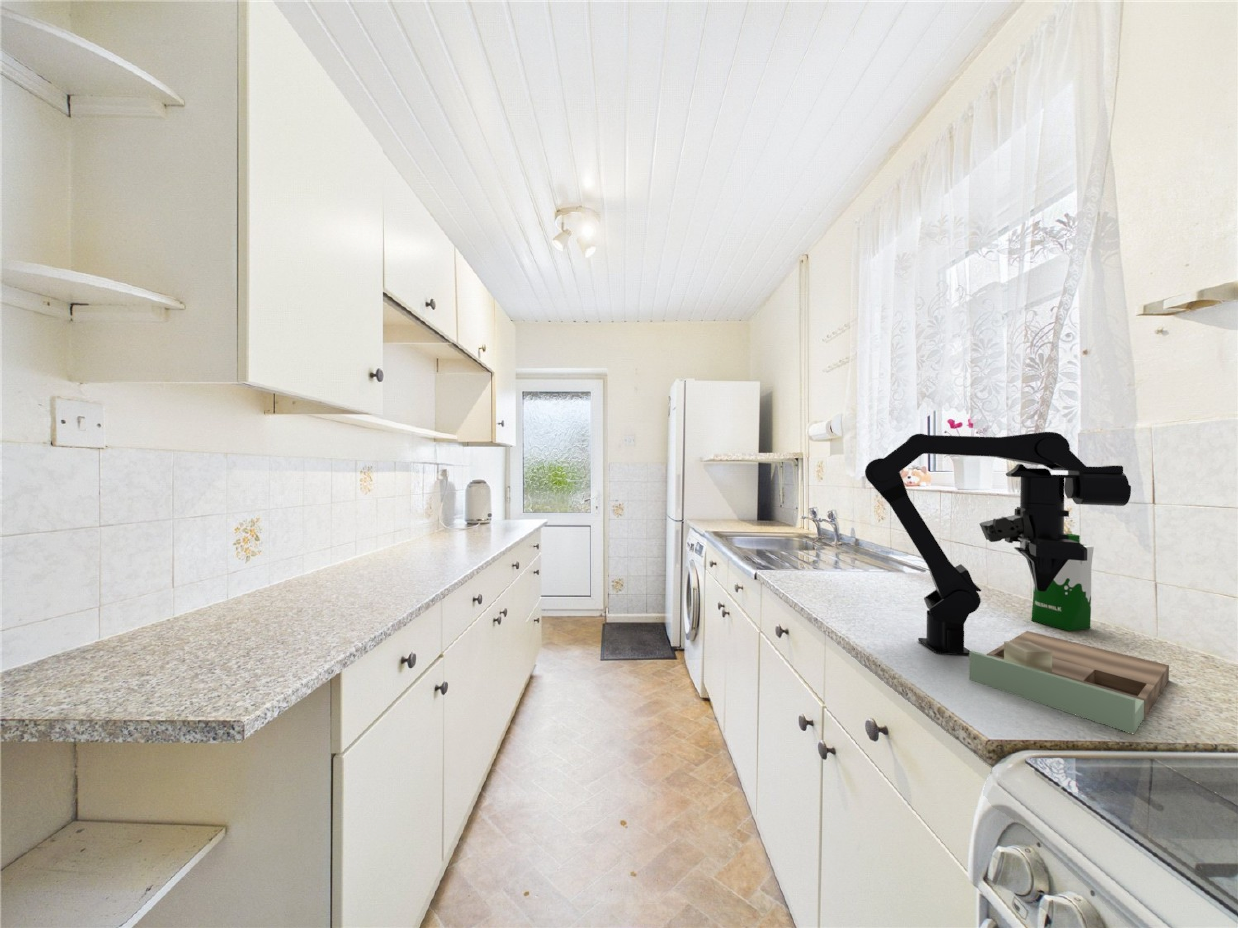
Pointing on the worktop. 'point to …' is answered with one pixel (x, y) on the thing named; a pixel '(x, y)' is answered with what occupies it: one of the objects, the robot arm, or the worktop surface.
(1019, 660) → the maple block
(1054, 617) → the milk carton
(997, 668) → the pad
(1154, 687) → the trap board
